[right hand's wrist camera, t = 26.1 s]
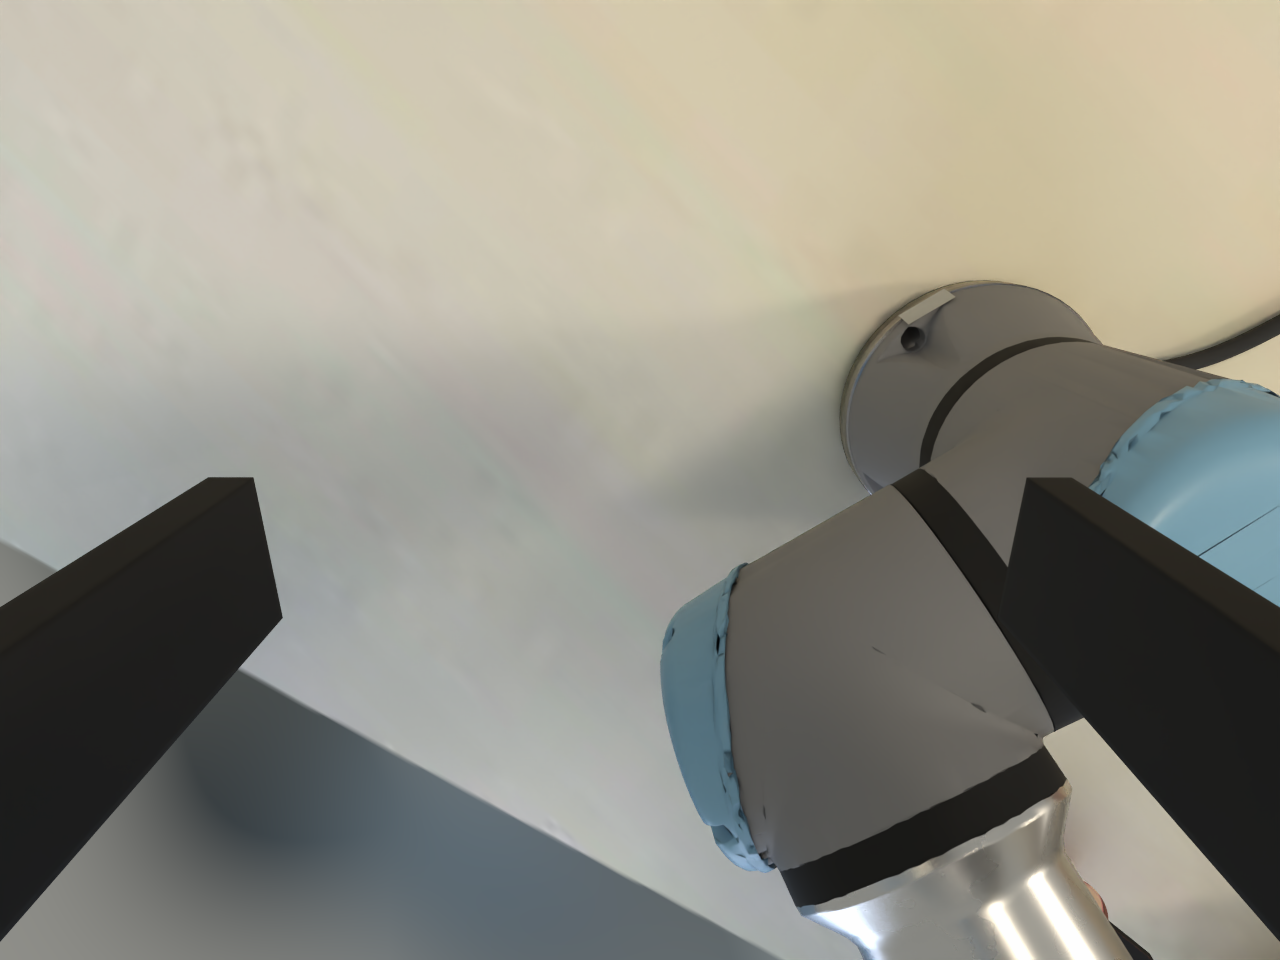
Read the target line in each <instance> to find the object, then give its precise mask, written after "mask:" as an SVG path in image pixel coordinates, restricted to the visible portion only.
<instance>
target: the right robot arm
mask: <svg viewBox="0 0 1280 960" xmlns="http://www.w3.org/2000/svg"><path fill="white" fill-rule="evenodd" d="M1279 334H1280V315H1278V316H1276V317H1274V318H1272V319H1271V320H1269V321H1267V322H1265V323H1263V324H1261V325H1259V326H1257V327H1255V328H1253V329H1251V330H1249V331H1247V332H1245V333H1243V334H1241V335H1239V336H1237V337H1235V338H1233V339H1230V340H1228V341H1226V342H1224V343H1221V344H1219V345H1216V346H1213V347H1211V348H1208V349H1205V350H1203V351H1199V352H1196V353H1193V354H1189V355H1186V356H1182V357H1178V358H1173V359H1169V360H1165V361H1161V360H1157V359H1154V358H1150V357H1146V356H1142V355H1139V354H1135V353H1131V352H1127V351H1124V350H1120V349H1116V348H1112V347H1109V346H1105V345H1103V344H1102V343H1101V342H1100V341H1099V340H1098V338H1097V337H1096V336H1095V335H1094V334H1093V332H1092V330H1091V329H1090V328H1089V326H1088V325H1087V324H1086V323H1085V321H1084V320H1083V319H1082V318H1081V317H1080V316H1079V315H1078V314H1077V313H1076V312H1075V311H1074V310H1073V309H1072V308H1071V307H1069V306H1068V305H1067V304H1065V303H1064V302H1062V301H1061V300H1059V299H1057V298H1056V297H1054V296H1052V295H1050V294H1048V293H1045V292H1043V291H1040V290H1038V289H1034V288H1031V287H1027V286H1023V285H1018V284H1013V283H1007V282H1001V281H987V280H983V281H969V282H962V283H957V284H953V285H949V286H945V287H942V288H940V289H937V290H934V291H931V292H929V293H927V294H925V295H923V296H921V297H919V298H917V299H915V300H914V301H912V302H910V303H908V304H907V305H905V306H904V307H903V308H901V309H900V310H898V311H897V312H896V313H895V314H893V315H892V316H891V317H890V318H888V319H887V320H886V321H885V322H884V323H883V324H882V325H881V326H880V327H879V328H878V329H877V330H876V331H875V333H874V334H873V335H872V336H871V337H870V339H869V340H868V341H867V343H866V344H865V345H864V347H863V348H862V350H861V351H860V353H859V355H858V356H857V358H856V360H855V362H854V364H853V366H852V368H851V370H850V372H849V375H848V378H847V381H846V383H845V387H844V391H843V395H842V400H841V407H840V433H841V439H842V444H843V448H844V452H845V454H846V457H847V460H848V462H849V464H850V466H851V468H852V470H853V472H854V473H855V475H856V476H857V478H858V479H859V481H860V482H861V483H862V485H863V486H864V487H865V488H866V490H867V491H868V492H869V493H870V494H871V495H870V496H868V497H866V498H864V499H863V500H861V501H859V502H857V503H856V504H854V505H852V506H850V507H849V508H847V509H845V510H843V511H842V512H840V513H838V514H836V515H835V516H833V517H831V518H829V519H828V520H826V521H824V522H822V523H821V524H819V525H817V526H815V527H814V528H812V529H810V530H808V531H807V532H805V533H803V534H801V535H800V536H798V537H796V538H794V539H793V540H791V541H789V542H787V543H786V544H784V545H782V546H780V547H779V548H777V549H775V550H773V551H772V552H770V553H768V554H766V555H765V556H763V557H761V558H759V559H758V560H756V561H754V562H752V563H750V564H748V563H743V564H741V565H739V566H737V567H735V568H734V569H733V570H732V571H731V572H730V574H729V575H728V577H726V578H725V579H723V580H722V581H720V582H719V583H717V584H716V585H714V586H713V587H711V588H710V589H708V590H706V591H705V592H703V593H702V594H700V595H699V596H697V597H696V598H694V599H693V600H691V601H690V602H688V603H686V604H685V605H684V606H683V607H681V608H680V609H679V610H678V611H677V612H676V614H675V615H674V616H673V618H672V619H671V621H670V623H669V625H668V627H667V630H666V633H665V637H664V640H663V649H662V655H661V661H660V673H661V689H662V697H663V704H664V709H665V715H666V720H667V724H668V729H669V733H670V737H671V741H672V744H673V748H674V751H675V754H676V757H677V761H678V764H679V767H680V770H681V773H682V776H683V778H684V781H685V784H686V786H687V789H688V791H689V794H690V796H691V798H692V801H693V803H694V805H695V807H696V809H697V811H698V813H699V815H700V817H701V819H702V820H703V822H704V823H705V824H706V825H710V826H711V828H712V831H713V835H714V839H715V842H716V844H717V845H718V847H719V848H720V849H721V851H722V852H723V853H724V854H725V856H726V857H727V858H728V859H729V860H730V861H731V862H733V863H734V864H735V865H737V866H738V867H740V868H742V869H744V870H747V871H758V870H759V871H761V872H764V873H767V872H769V871H771V870H773V869H775V868H776V867H778V869H779V871H780V873H781V875H782V877H783V879H784V881H785V884H786V886H787V888H788V890H789V892H790V895H791V897H792V899H793V901H794V903H795V906H796V907H797V909H798V911H799V912H800V914H801V916H803V917H805V918H808V919H810V920H812V921H814V922H816V923H818V924H820V925H822V926H824V927H826V928H828V929H830V930H833V931H835V932H837V933H839V934H841V935H843V936H845V937H847V938H848V939H849V940H851V941H852V942H853V943H854V944H855V945H856V946H857V947H858V949H859V951H860V953H861V955H862V957H863V959H864V960H1133V959H1132V957H1131V955H1130V954H1129V952H1128V951H1127V949H1126V948H1125V946H1124V944H1123V943H1122V941H1121V940H1120V938H1119V937H1118V935H1117V933H1116V932H1115V930H1114V929H1113V927H1112V926H1111V924H1110V922H1109V921H1108V919H1107V918H1106V916H1105V915H1104V913H1103V911H1102V910H1101V908H1100V907H1099V905H1098V904H1097V902H1096V900H1095V899H1094V897H1093V896H1092V894H1091V893H1090V891H1089V889H1088V888H1087V886H1086V885H1085V883H1084V882H1083V880H1082V878H1081V877H1080V875H1079V874H1078V872H1077V871H1076V869H1075V867H1074V866H1073V864H1072V863H1071V861H1070V860H1069V858H1068V856H1067V855H1066V853H1065V849H1064V838H1063V835H1064V830H1065V824H1066V819H1067V814H1068V808H1069V803H1070V798H1071V792H1072V787H1071V785H1070V783H1069V782H1068V780H1067V778H1066V777H1065V776H1064V774H1063V773H1062V771H1061V770H1060V768H1059V767H1058V765H1057V764H1056V762H1055V761H1054V759H1053V758H1052V756H1051V755H1050V753H1049V752H1048V750H1047V749H1046V747H1045V746H1044V744H1043V737H1044V736H1046V735H1048V734H1050V733H1052V732H1055V731H1056V730H1058V729H1060V728H1062V727H1065V726H1067V725H1069V724H1071V723H1073V722H1075V721H1077V720H1080V719H1082V718H1085V719H1086V720H1087V721H1088V722H1089V724H1090V725H1091V726H1092V727H1093V728H1094V729H1095V730H1096V732H1097V733H1098V734H1099V735H1100V736H1101V737H1102V738H1103V740H1104V741H1105V742H1106V743H1107V744H1108V745H1109V746H1110V748H1111V749H1112V750H1113V751H1114V752H1115V753H1116V754H1117V756H1118V757H1119V758H1120V759H1121V760H1122V761H1123V762H1124V764H1125V765H1126V766H1127V767H1128V768H1129V769H1130V771H1131V772H1132V773H1133V774H1134V775H1135V776H1136V777H1137V779H1138V780H1139V781H1140V782H1141V783H1142V784H1143V785H1144V787H1145V788H1146V789H1147V790H1148V791H1149V792H1150V793H1151V795H1152V796H1153V797H1154V798H1155V799H1156V800H1157V801H1158V803H1159V804H1160V805H1161V806H1162V807H1163V808H1164V809H1165V811H1166V812H1167V813H1168V814H1169V815H1170V816H1171V818H1172V819H1173V820H1174V821H1175V822H1176V823H1177V824H1178V826H1179V827H1180V828H1181V829H1182V830H1183V831H1184V832H1185V834H1186V835H1187V836H1188V837H1189V838H1190V839H1191V840H1192V842H1193V843H1194V844H1195V845H1196V846H1197V847H1198V848H1199V850H1200V851H1201V852H1202V853H1203V854H1204V855H1205V856H1206V858H1207V859H1208V860H1209V861H1210V862H1211V863H1212V865H1213V866H1214V867H1215V868H1216V869H1217V870H1218V871H1219V873H1220V874H1221V875H1222V876H1223V877H1224V878H1225V879H1226V881H1227V882H1228V883H1229V884H1230V885H1231V886H1232V887H1233V889H1234V890H1235V891H1236V892H1237V893H1238V894H1239V895H1240V897H1241V898H1242V899H1243V900H1244V901H1245V902H1246V903H1247V905H1248V906H1249V907H1250V908H1251V909H1252V910H1253V912H1254V913H1255V914H1256V915H1257V916H1258V917H1259V918H1260V920H1261V921H1262V922H1263V923H1264V924H1265V925H1266V926H1267V928H1268V929H1269V930H1270V931H1271V932H1272V933H1273V934H1274V936H1275V937H1276V938H1277V939H1278V940H1279V941H1280V396H1279V395H1277V394H1275V393H1274V392H1272V391H1271V390H1269V389H1267V388H1264V387H1262V386H1260V385H1258V384H1253V383H1246V382H1244V381H1243V380H1232V379H1228V378H1225V377H1221V376H1217V375H1214V374H1210V373H1206V372H1202V371H1199V370H1196V369H1200V368H1203V367H1207V366H1210V365H1213V364H1215V363H1218V362H1221V361H1223V360H1226V359H1229V358H1231V357H1233V356H1236V355H1238V354H1240V353H1243V352H1245V351H1247V350H1249V349H1251V348H1253V347H1256V346H1258V345H1260V344H1262V343H1264V342H1266V341H1267V340H1269V339H1271V338H1273V337H1275V336H1277V335H1279ZM282 618H283V617H282V612H281V607H280V602H279V598H278V593H277V588H276V583H275V578H274V574H273V569H272V564H271V559H270V555H269V550H268V545H267V540H266V535H265V531H264V526H263V521H262V516H261V511H260V507H259V502H258V497H257V492H256V487H255V483H254V478H253V477H208V478H207V479H205V480H203V481H202V482H200V483H199V484H197V485H195V486H194V487H192V488H191V489H189V490H187V491H186V492H184V493H183V494H181V495H179V496H178V497H176V498H175V499H173V500H171V501H170V502H168V503H167V504H165V505H163V506H162V507H160V508H159V509H157V510H155V511H154V512H152V513H150V514H149V515H147V516H146V517H144V518H142V519H141V520H139V521H138V522H136V523H134V524H133V525H131V526H130V527H128V528H126V529H125V530H123V531H122V532H120V533H118V534H117V535H115V536H114V537H112V538H110V539H109V540H107V541H106V542H104V543H102V544H101V545H99V546H98V547H96V548H94V549H93V550H91V551H90V552H88V553H86V554H85V555H83V556H82V557H80V558H78V559H77V560H75V561H74V562H72V563H70V564H69V565H67V566H66V567H64V568H62V569H61V570H59V571H58V572H56V573H54V574H53V575H51V576H49V577H48V578H46V579H45V580H43V581H42V582H40V583H38V584H37V585H35V586H34V587H32V588H30V589H29V590H27V591H25V592H24V593H22V594H21V595H19V596H17V597H16V598H14V599H13V600H11V601H9V602H8V603H6V604H5V605H3V606H1V607H0V941H1V940H2V939H3V938H4V937H5V936H6V934H7V933H8V932H9V931H10V930H11V929H12V928H13V926H14V925H15V924H16V923H17V922H18V921H19V919H20V918H21V917H22V916H23V915H24V914H25V913H26V912H27V910H28V909H29V908H30V907H31V906H32V905H33V903H34V902H35V901H36V900H37V899H38V898H39V897H40V895H41V894H42V893H43V892H44V891H45V890H46V889H47V887H48V886H49V885H50V884H51V883H52V882H53V881H54V879H55V878H56V877H57V876H58V875H59V874H60V873H61V871H62V870H63V869H64V868H65V867H66V866H67V865H68V863H69V862H70V861H71V860H72V859H73V858H74V856H75V855H76V854H77V853H78V852H79V851H80V850H81V848H82V847H83V846H84V845H85V844H86V843H87V842H88V840H89V839H90V838H91V837H92V836H93V835H94V834H95V832H96V831H97V830H98V829H99V828H100V827H101V825H102V824H103V823H104V822H105V821H106V820H107V819H108V818H109V816H110V815H111V814H112V813H113V812H114V811H115V809H116V808H117V807H118V806H119V805H120V804H121V803H122V801H123V800H124V799H125V798H126V797H127V796H128V795H129V793H130V792H131V791H132V790H133V789H134V788H135V787H136V785H137V784H138V783H139V782H140V781H141V780H142V779H143V777H144V776H145V775H146V774H147V773H148V772H149V771H150V769H151V768H152V767H153V766H154V765H155V764H156V762H157V761H158V760H159V759H160V758H161V757H162V756H163V754H164V753H165V752H166V751H167V750H168V749H169V748H170V746H171V745H172V744H173V743H174V742H175V741H176V740H177V738H178V737H179V736H180V735H181V734H182V733H183V731H184V730H185V729H186V728H187V727H188V726H189V725H190V724H191V722H192V721H193V720H194V719H195V718H196V717H197V715H198V714H199V713H200V712H201V711H202V710H203V709H204V707H205V706H206V705H207V704H208V703H209V702H210V701H211V699H212V698H213V697H214V696H215V695H216V694H217V693H218V691H219V690H220V689H221V688H222V687H223V686H224V685H225V683H226V682H227V681H228V680H229V679H230V678H231V677H232V675H233V674H234V673H235V672H236V671H237V670H238V668H239V667H240V666H241V665H242V664H243V663H244V662H245V660H246V659H247V658H248V657H249V656H250V655H251V654H252V652H253V651H254V650H255V649H256V648H257V647H258V646H259V644H260V643H261V642H262V641H263V640H264V639H265V638H266V636H267V635H268V634H269V633H270V632H271V631H272V629H273V628H274V627H275V626H276V625H277V624H278V623H279V621H280V620H281V619H282Z"/></svg>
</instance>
